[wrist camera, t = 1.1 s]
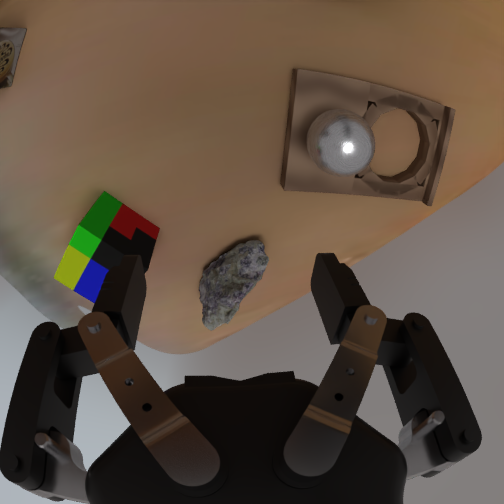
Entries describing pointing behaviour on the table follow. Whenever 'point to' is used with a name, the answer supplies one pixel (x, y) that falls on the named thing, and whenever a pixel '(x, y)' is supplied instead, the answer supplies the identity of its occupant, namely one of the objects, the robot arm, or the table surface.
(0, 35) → the coffee box
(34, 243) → the table surface
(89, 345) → the robot arm
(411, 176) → the wooden ball holder
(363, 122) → the steel ball
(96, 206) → the puzzle toy
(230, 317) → the mineral rock
